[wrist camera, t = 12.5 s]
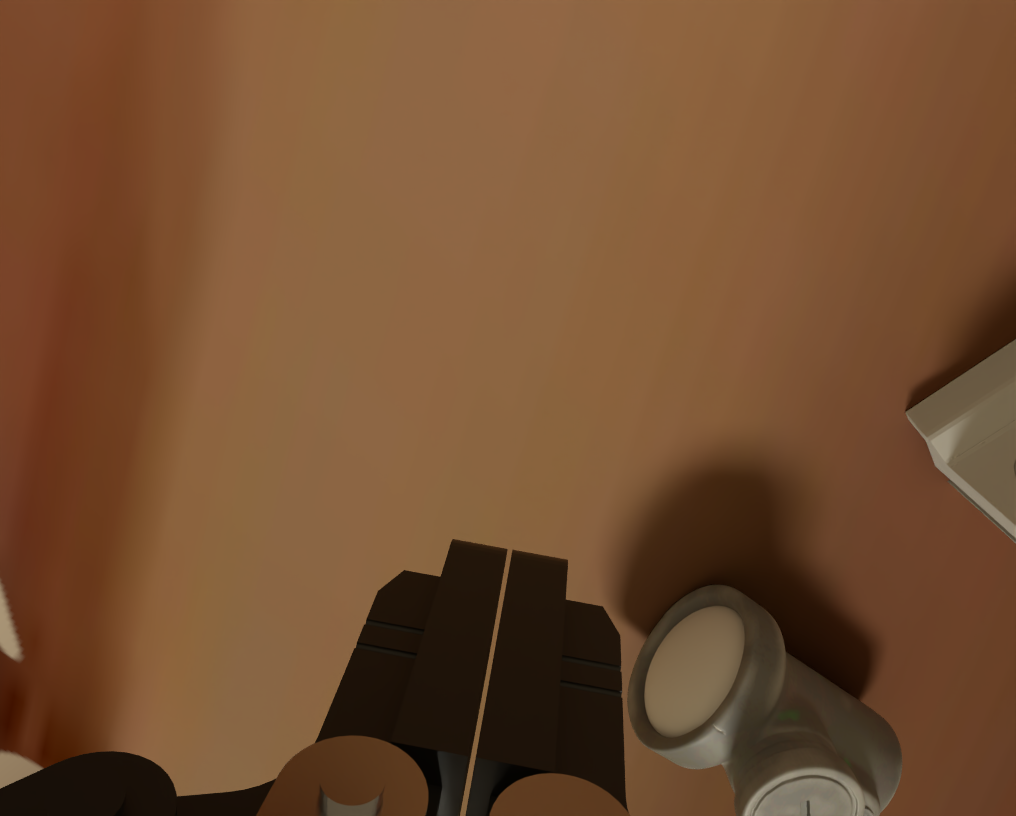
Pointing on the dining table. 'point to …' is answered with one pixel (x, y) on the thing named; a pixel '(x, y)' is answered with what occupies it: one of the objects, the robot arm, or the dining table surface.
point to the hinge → (977, 435)
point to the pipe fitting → (758, 713)
